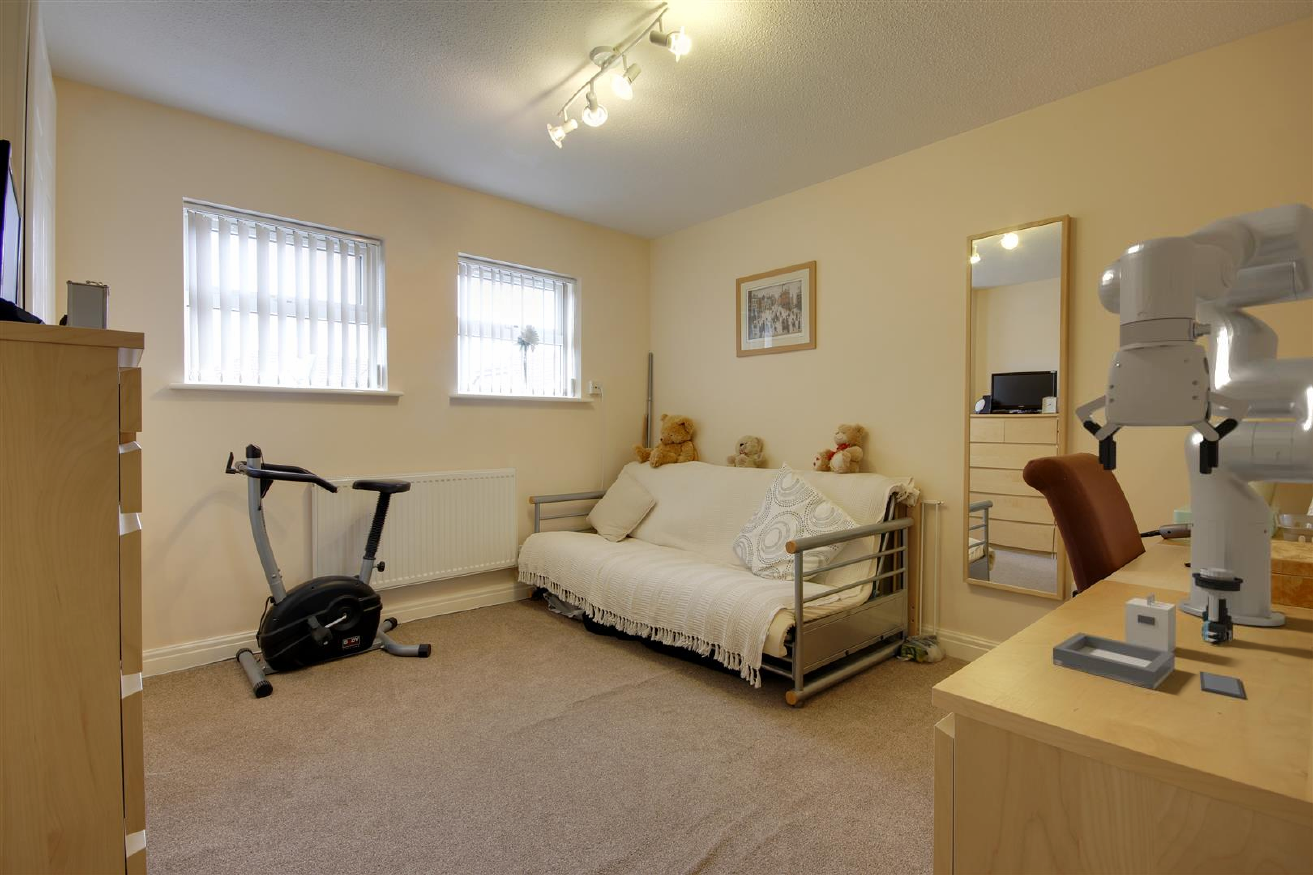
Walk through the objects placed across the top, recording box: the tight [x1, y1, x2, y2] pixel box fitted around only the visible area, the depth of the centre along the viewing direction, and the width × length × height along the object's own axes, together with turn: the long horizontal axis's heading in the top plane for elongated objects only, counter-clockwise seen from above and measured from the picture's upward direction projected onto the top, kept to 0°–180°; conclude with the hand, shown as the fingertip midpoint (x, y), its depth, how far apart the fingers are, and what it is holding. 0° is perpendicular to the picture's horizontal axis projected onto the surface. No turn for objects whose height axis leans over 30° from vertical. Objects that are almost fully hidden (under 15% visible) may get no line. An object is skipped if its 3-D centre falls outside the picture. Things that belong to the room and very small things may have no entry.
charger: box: [1124, 593, 1177, 653], centre depth 82 cm, size 5×4×7 cm
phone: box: [1199, 671, 1246, 700], centre depth 70 cm, size 7×4×1 cm, turn 139°
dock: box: [1052, 632, 1176, 691], centre depth 75 cm, size 10×10×2 cm
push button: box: [1192, 567, 1243, 645], centre depth 85 cm, size 7×5×10 cm
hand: (1155, 471), depth 77 cm, fingers open, 9 cm apart
